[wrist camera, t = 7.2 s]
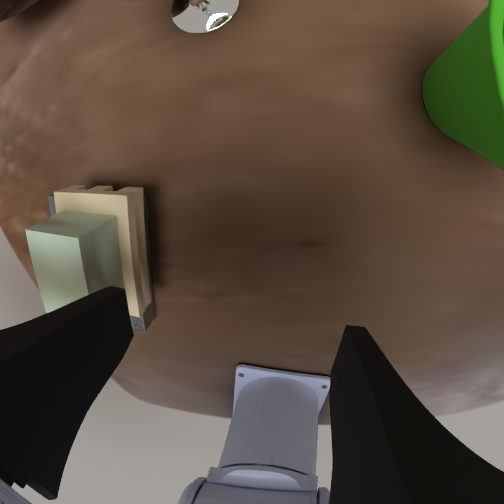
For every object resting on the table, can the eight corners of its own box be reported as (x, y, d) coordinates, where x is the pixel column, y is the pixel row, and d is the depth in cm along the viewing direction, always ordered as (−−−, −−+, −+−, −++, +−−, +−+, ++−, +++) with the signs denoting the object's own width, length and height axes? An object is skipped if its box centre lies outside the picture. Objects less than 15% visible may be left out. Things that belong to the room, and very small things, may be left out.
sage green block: (152, 301, 20) (113, 351, 15) (87, 286, 21) (44, 325, 16) (144, 187, 17) (87, 215, 12) (73, 184, 17) (14, 208, 12)
